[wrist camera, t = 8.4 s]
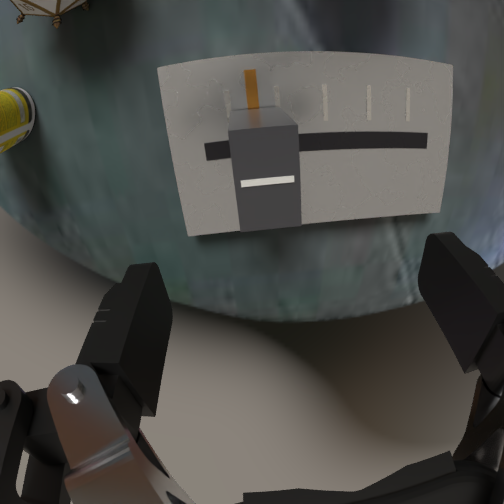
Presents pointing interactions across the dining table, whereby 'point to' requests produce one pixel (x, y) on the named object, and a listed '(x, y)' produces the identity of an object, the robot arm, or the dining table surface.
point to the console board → (314, 131)
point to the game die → (47, 8)
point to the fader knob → (265, 168)
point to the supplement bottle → (15, 116)
